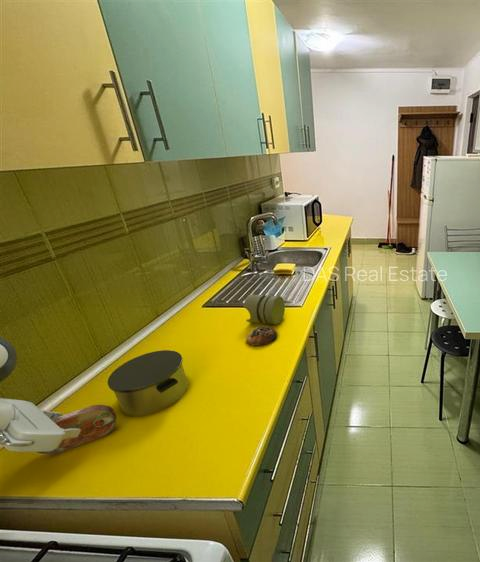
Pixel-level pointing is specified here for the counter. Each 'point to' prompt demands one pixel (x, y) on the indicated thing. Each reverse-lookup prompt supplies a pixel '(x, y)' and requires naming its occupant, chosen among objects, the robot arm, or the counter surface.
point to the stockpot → (149, 382)
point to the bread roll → (261, 335)
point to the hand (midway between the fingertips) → (69, 424)
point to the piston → (265, 309)
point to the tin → (85, 425)
